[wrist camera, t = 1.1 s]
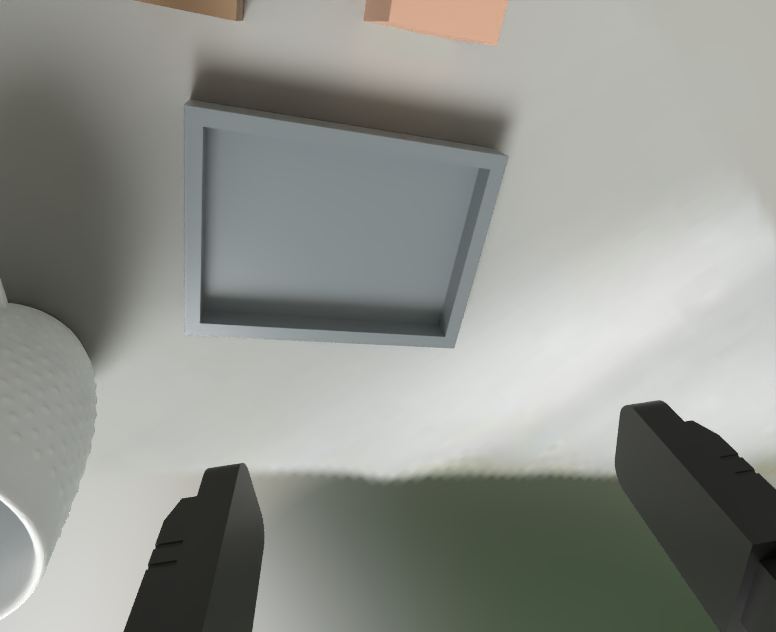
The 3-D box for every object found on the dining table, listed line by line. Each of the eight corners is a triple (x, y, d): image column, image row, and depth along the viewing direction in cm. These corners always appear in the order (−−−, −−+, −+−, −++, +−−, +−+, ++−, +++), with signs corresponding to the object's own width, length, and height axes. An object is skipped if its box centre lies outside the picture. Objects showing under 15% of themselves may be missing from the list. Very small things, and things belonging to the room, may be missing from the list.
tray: (188, 317, 30) (184, 335, 29) (190, 99, 25) (184, 105, 23) (444, 332, 34) (454, 348, 33) (494, 148, 29) (508, 156, 27)
